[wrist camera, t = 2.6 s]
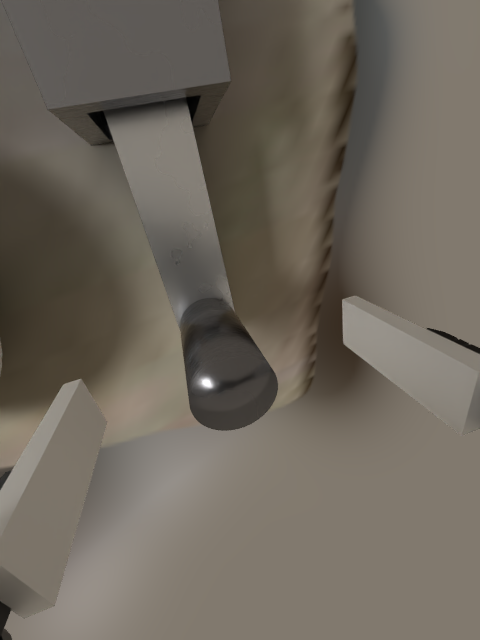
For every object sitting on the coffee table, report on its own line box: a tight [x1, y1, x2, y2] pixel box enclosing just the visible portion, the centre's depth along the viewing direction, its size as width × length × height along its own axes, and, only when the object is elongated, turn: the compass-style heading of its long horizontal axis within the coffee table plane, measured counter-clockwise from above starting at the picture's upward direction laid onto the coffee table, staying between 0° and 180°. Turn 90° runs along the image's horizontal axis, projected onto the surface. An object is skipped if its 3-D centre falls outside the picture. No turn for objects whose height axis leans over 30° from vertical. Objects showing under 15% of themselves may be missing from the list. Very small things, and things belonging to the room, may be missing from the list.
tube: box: [103, 97, 278, 430], centre depth 10 cm, size 4×23×10 cm, turn 12°
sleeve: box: [1, 0, 231, 145], centre depth 11 cm, size 7×8×6 cm
